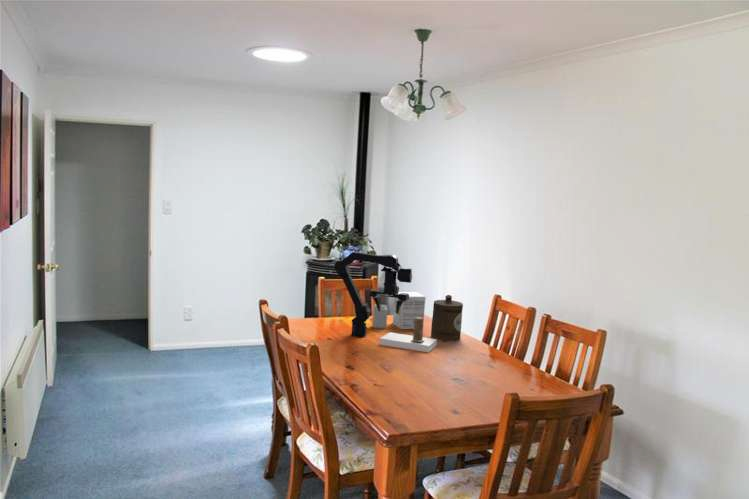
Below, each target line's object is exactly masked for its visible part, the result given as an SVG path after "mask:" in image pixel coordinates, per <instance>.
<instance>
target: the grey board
mask: <svg viewBox="0 0 749 499" xmlns="http://www.w3.org/2000/svg"><path fill="white" fill-rule="evenodd" d="M422 339H423V341H421V343H415V342H414V341H413V335H411V334H410V335H409V334H403V333H396V332H388V333H386V334H384V335H383V336H382V337H379V345H380V346H385V347H392V348H399V349H405V350H406V349H407V350H411V351H419V352H424V353H429V352H431V351H432V350H433V349H435V348H436V347H437V343H438V342H437V341H438V340H437V339H433V338H432V337H431V338H430V337H422Z"/></svg>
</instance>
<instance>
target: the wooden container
mask: <svg viewBox="0 0 749 499" xmlns="http://www.w3.org/2000/svg"><path fill="white" fill-rule="evenodd" d="M444 297H445V298H444V299H437V300H434V301H433V309H432V318H431V327H430V328H431V330H430V337H431V339H437V341H439V340H440V342H447V341H453V342H458V341H460V340H461V331H462V321H463V307H464V305H463V304H464V303H463V302H461V301H456V300H453V296H452V295H450V294H447V295H445V296H444Z"/></svg>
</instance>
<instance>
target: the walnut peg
mask: <svg viewBox="0 0 749 499" xmlns="http://www.w3.org/2000/svg"><path fill="white" fill-rule="evenodd" d="M424 321H425V317H424V318H420V317H415V318H414V329H413V333H412V336H413V341H414V342H415V343H421V341H423V339H422V337H423V334H424Z"/></svg>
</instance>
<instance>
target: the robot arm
mask: <svg viewBox="0 0 749 499" xmlns="http://www.w3.org/2000/svg"><path fill="white" fill-rule="evenodd" d="M355 261H359V262H368V263H373V264H374V263H375V264H379V265H381V266H383V267H382V269H380V271H381V272H384V281H383V291H382V290H380V289H372V290H370V291H369V297H370V298H371V299H373V300H374V303H375V305H377V308H378V311H380V304H381V300H382V297H388V298H398V299H399V300H398V301H397V309H396V313H397V314H398V312H399V310H400V307H401V305H402V303H403V302H405V301H406V300H408V299H409V294H407V293H400V294H398V293H399V292H400V287H399V286H398V285H397V280H398V281H399V283H410V284H411V283H412V280H413V269H412V268H406V267H405V268H404V267H402V266H401V264H400V263H399V258H398V257H397V255H395V254H383V255H382V254H381V255H379V254H374V253H368V252H367V253H365V252H359V251H352V252H350V254H348V255H347V256H346V257H345V258H343V259H340V260H338V261H336V262H335V263H334V265H333V268H334V271H335V272H336V274H337V275H338V276H339V277H340V278H341V279H342V281H343V283H344V285H345V287H346V290H347V292H348V294H349V297H350V298H351V301H352V303H353V305H354V312H355V317H354V318H352V319H351V322H352V323H351V333H350V336H352V337H359V338H363V337H365V336H367V331H368V326H367V320H368V319H369V318H370V317H371V314H372V313H371V311H372V310H371V308H370V306H369V303H368V302H367V303H365V302H364V301H363V299H362V297H361V295H360V293H359V291H358V288H357V286H356V283H354V282H355V281H354V280H353V278H352V275H351V269H350V265H351V264H353V263H354V262H355ZM395 293H396V294H395Z"/></svg>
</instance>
